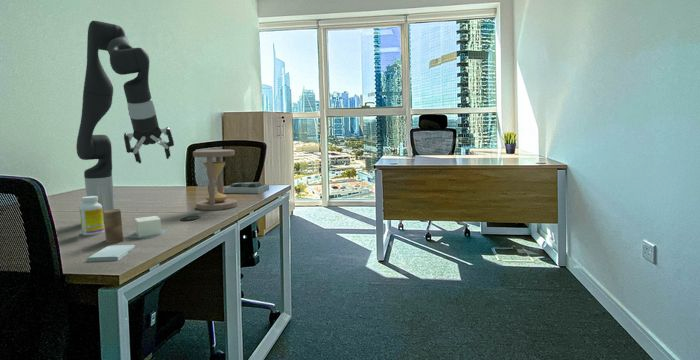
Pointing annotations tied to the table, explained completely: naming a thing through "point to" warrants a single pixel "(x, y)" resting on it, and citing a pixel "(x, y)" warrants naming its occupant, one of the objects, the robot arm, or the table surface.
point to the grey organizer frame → (246, 189)
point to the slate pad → (134, 235)
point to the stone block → (247, 185)
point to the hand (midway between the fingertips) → (153, 160)
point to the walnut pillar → (113, 225)
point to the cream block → (148, 226)
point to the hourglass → (215, 170)
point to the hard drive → (111, 253)
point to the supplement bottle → (91, 216)
